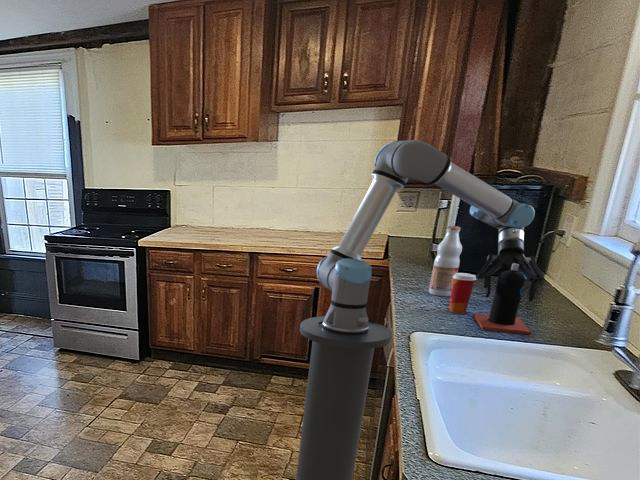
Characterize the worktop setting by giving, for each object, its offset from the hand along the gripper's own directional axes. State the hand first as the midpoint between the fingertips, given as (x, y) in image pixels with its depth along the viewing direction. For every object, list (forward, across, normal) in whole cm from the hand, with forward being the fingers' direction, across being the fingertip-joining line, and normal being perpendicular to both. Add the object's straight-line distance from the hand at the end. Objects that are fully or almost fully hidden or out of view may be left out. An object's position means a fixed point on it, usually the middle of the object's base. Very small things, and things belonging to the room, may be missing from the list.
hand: (509, 297), depth 176 cm
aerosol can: (+5, 0, +9) cm, 10 cm away
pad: (+5, 0, +9) cm, 11 cm away
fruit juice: (-24, -15, +39) cm, 48 cm away
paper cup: (-4, -12, +18) cm, 22 cm away
